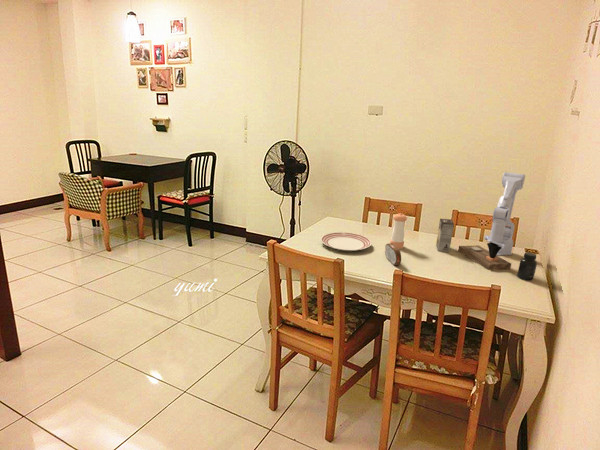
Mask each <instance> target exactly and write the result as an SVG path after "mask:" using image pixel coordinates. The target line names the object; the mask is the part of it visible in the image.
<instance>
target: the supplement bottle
mask: <svg viewBox="0 0 600 450" xmlns="http://www.w3.org/2000/svg"><path fill="white" fill-rule="evenodd" d="M523 254H524V255H523V257H521V259H520V260H519V265H518V269H517V274H516V276H517V278H518V279H520V280H522V281H527V282H529V281H530V282H531V281H533V280H534V278H535V274H536V271H537V266H538V262H537V260H536V259H537V254H536V253H533V252H529V251H526V252H524V253H523Z"/></svg>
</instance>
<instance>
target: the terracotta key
mask: <svg viewBox="0 0 600 450" xmlns="http://www.w3.org/2000/svg"><path fill="white" fill-rule="evenodd" d="M486 259H488V260H490V261H498V258H496V257H495V258H490V256H486Z"/></svg>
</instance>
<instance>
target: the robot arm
mask: <svg viewBox="0 0 600 450" xmlns="http://www.w3.org/2000/svg"><path fill="white" fill-rule="evenodd" d="M525 180H526V174H525V173H523V174H522V173H515V172H509V171H505V172H503V174H502V178H501V185H502V187H503V188H504V189H503V193H502V194H503V195H501V196H500V197H499V199H498V202H497V206H496V207H494V209H493V213H492V224H491V229H490V235H484V239H483V240H485V241H487V243H486V245H487V250H488V251H489V256H490V258H495V257H496V255H497V256H512V255H513V253H512V251H513V248H514V247H513V246H514V239H513V236H514V232H515V223H514V222H513V221H511V217H512V213H513V209H514V208H513V207H514V203H515V199H516V195H517V192H518V191H520V190H522V189H523V188H524V184H525Z"/></svg>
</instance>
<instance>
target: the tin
mask: <svg viewBox="0 0 600 450" xmlns="http://www.w3.org/2000/svg"><path fill="white" fill-rule="evenodd" d="M384 249H385V251H384V255H385V257H386V259H387V260H388V261H389V262H390V263H391V265H393V266H400V265H401V263H402V253H401V249H398V248H397V247H396V246H395V245H394V244H393V243H390V242H389V243H386V244H385V248H384Z"/></svg>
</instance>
